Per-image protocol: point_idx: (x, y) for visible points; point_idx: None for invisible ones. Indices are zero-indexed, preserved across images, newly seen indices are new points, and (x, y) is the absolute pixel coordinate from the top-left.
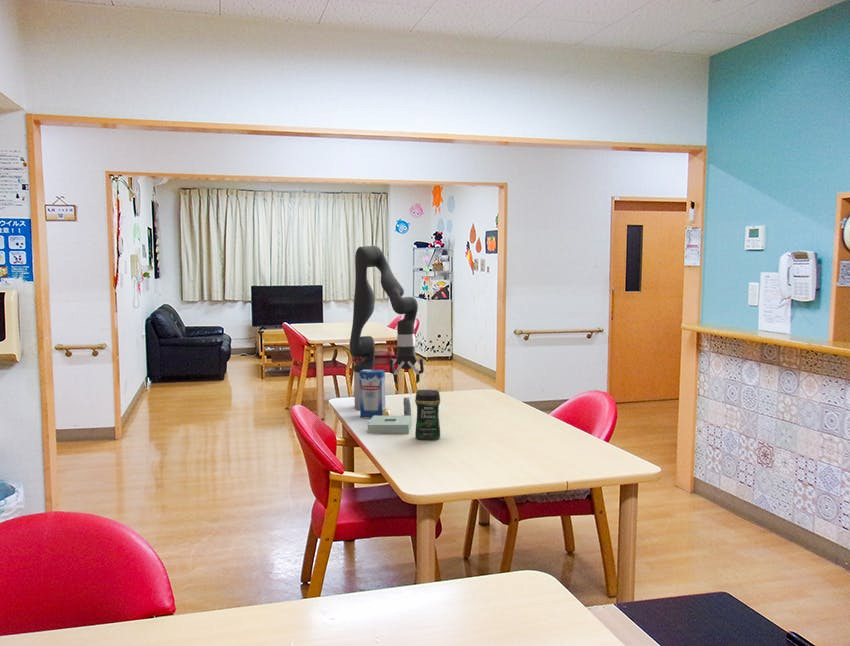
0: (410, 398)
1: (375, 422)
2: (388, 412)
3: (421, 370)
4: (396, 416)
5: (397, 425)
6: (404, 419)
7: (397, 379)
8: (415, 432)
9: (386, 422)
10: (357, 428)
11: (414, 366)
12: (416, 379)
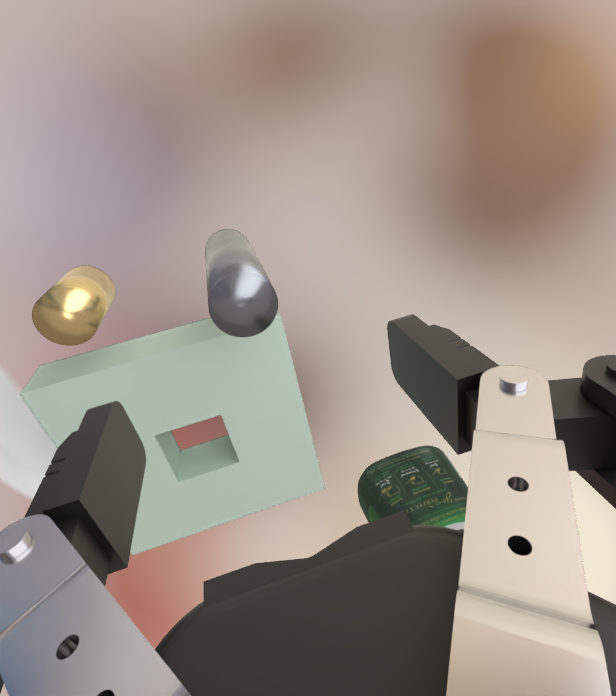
0: (277, 307)
1: (144, 512)
2: (99, 324)
3: (612, 480)
4: (195, 368)
5: (274, 502)
6: (272, 414)
7: (125, 471)
8: (366, 517)
9: (203, 493)
10: (19, 471)
11: (541, 506)
12: (425, 406)
